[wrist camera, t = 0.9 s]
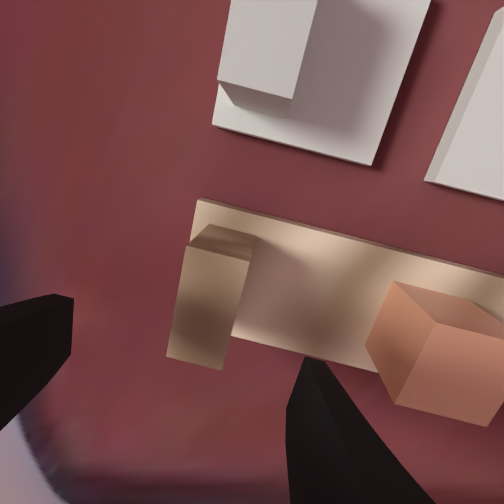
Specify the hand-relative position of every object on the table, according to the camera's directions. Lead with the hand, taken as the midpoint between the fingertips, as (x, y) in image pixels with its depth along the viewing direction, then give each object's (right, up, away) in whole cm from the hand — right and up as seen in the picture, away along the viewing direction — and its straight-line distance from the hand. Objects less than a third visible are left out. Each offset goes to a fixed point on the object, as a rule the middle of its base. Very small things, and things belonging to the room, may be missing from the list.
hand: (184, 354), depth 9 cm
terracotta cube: (+11, -1, +6) cm, 12 cm away
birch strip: (+7, +1, +7) cm, 10 cm away
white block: (+10, +10, +4) cm, 15 cm away
